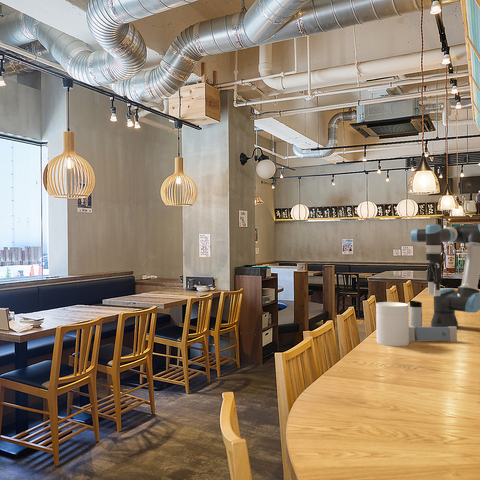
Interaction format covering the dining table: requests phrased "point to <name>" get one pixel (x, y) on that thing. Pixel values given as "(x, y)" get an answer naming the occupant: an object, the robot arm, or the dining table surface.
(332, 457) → the dining table surface
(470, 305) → the robot arm
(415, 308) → the travel mug
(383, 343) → the canister
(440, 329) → the door
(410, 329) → the door post
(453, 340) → the wall stub
